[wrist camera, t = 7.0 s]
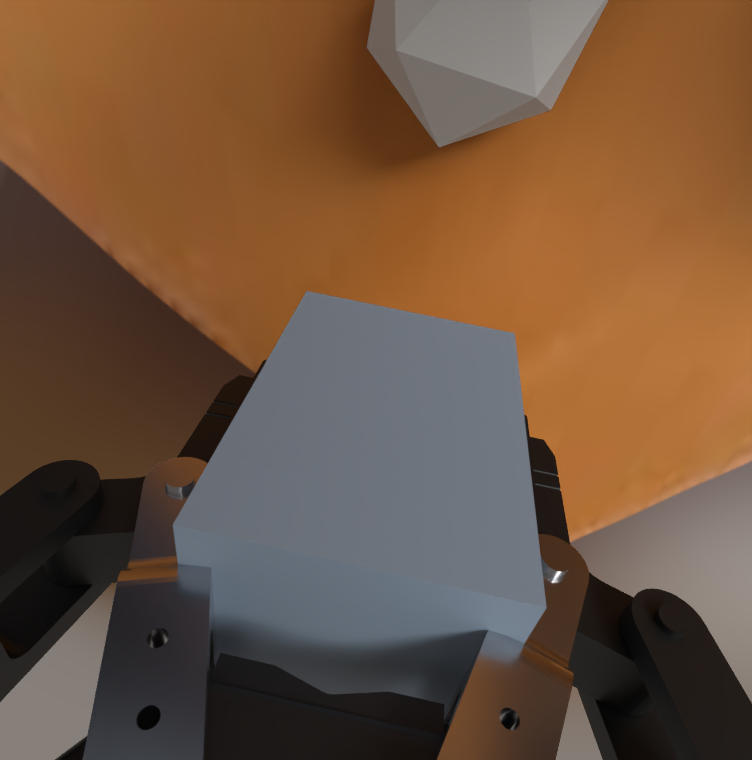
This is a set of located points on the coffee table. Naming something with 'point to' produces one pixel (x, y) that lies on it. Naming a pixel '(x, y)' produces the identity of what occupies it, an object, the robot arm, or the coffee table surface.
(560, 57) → the die
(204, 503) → the block
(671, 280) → the coffee table surface
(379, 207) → the coffee table surface
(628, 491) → the coffee table surface
